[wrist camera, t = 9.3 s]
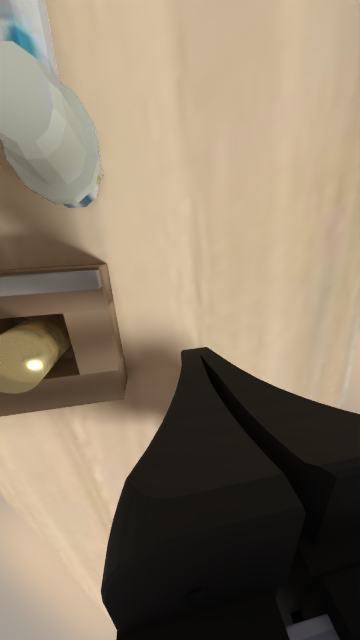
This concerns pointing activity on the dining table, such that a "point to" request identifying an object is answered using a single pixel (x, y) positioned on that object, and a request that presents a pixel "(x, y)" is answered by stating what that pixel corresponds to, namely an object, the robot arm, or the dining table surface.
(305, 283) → the dining table surface
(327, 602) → the robot arm
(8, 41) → the grey long knobbed part
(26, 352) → the tan cylinder
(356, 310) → the dining table surface
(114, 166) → the dining table surface
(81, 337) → the jig
